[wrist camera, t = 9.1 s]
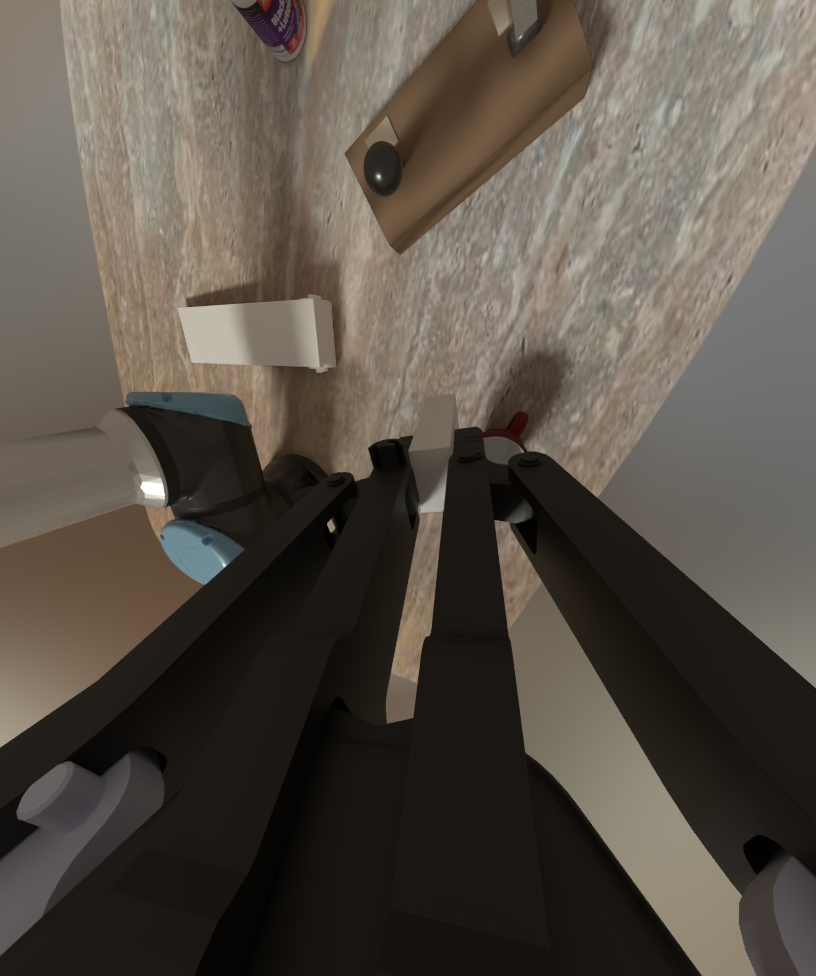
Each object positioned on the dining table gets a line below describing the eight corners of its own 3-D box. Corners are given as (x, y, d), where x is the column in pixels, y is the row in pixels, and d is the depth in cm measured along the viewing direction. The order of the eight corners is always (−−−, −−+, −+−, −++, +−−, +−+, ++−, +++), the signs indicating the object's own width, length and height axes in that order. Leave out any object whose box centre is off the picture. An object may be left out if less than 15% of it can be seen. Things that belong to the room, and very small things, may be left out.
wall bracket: (230, 360, 60) (350, 364, 49) (196, 372, 55) (322, 379, 44) (204, 300, 54) (335, 290, 43) (164, 307, 49) (301, 297, 38)
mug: (490, 393, 43) (484, 404, 34) (545, 415, 42) (554, 431, 33) (461, 460, 48) (449, 484, 39) (510, 480, 47) (510, 509, 38)
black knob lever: (413, 171, 33) (409, 178, 24) (389, 194, 34) (378, 209, 26) (395, 134, 31) (385, 127, 22) (371, 160, 32) (352, 163, 24)
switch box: (583, 98, 30) (593, 62, 26) (400, 254, 39) (388, 244, 36) (543, -26, 28) (548, -83, 24) (360, 172, 37) (343, 152, 34)
